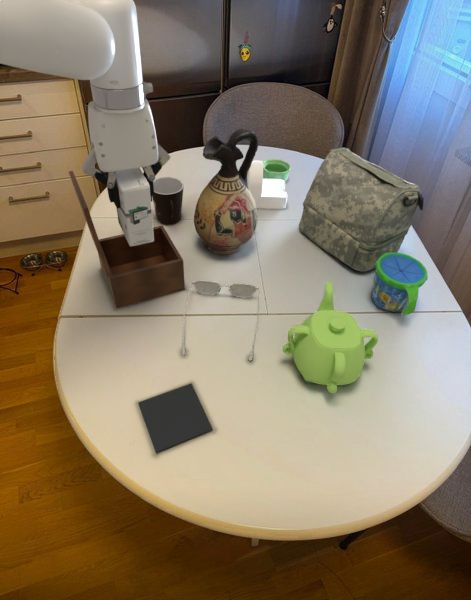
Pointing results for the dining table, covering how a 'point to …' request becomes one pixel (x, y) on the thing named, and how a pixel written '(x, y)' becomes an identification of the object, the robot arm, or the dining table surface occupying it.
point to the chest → (142, 268)
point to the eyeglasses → (214, 287)
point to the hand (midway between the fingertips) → (132, 200)
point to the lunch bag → (358, 209)
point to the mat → (174, 417)
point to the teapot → (330, 345)
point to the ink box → (134, 206)
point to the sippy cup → (398, 282)
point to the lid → (89, 223)
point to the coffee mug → (168, 199)
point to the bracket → (266, 188)
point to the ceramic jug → (227, 196)
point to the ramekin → (276, 169)
